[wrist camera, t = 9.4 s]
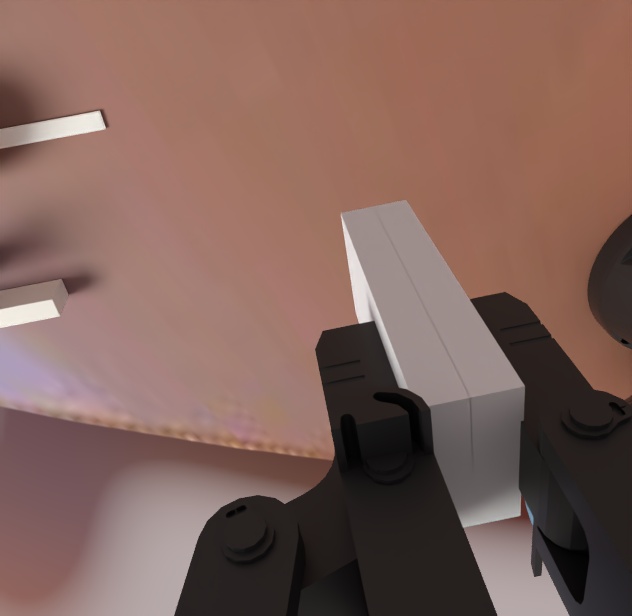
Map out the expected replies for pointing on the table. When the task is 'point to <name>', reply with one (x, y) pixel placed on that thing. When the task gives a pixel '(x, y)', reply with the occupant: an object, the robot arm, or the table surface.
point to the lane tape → (51, 129)
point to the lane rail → (32, 302)
